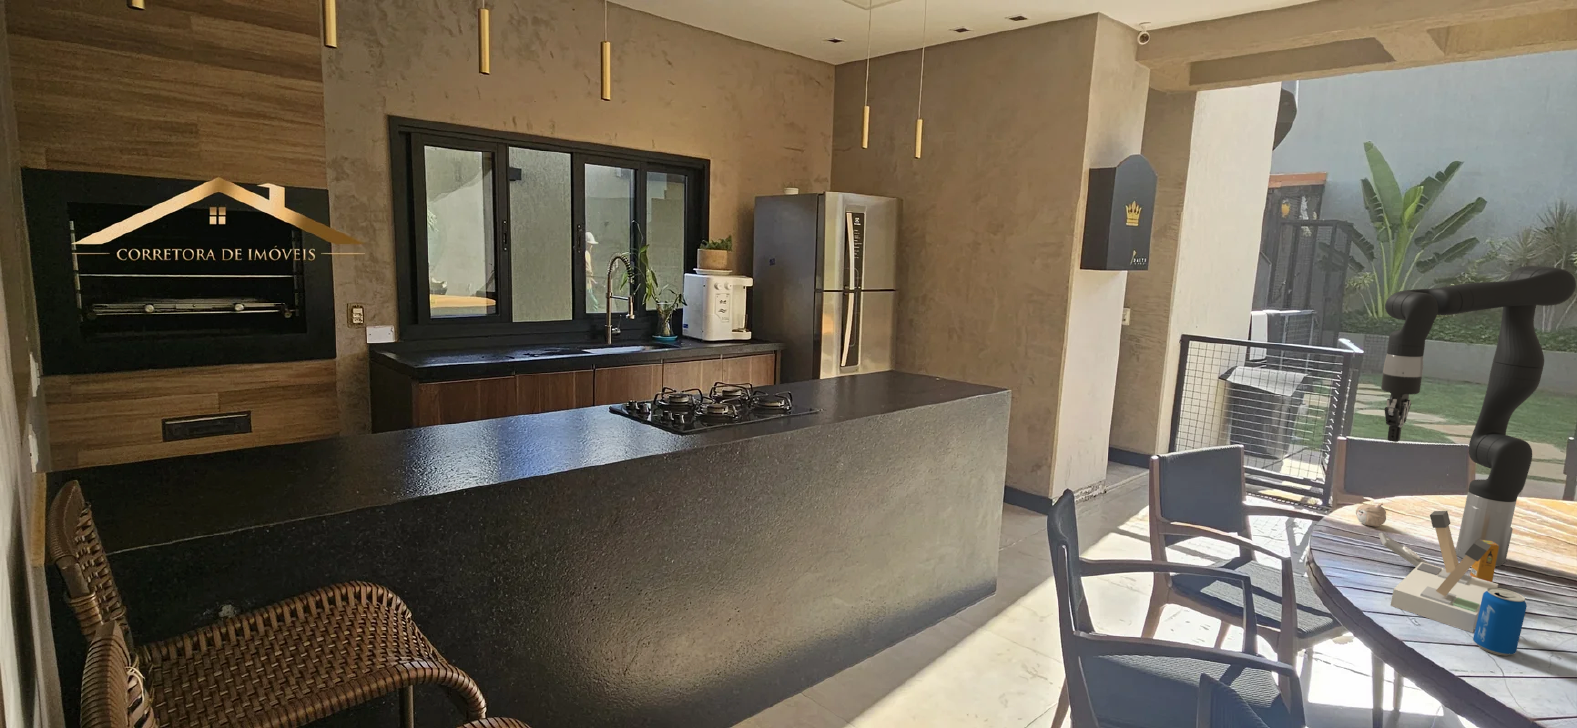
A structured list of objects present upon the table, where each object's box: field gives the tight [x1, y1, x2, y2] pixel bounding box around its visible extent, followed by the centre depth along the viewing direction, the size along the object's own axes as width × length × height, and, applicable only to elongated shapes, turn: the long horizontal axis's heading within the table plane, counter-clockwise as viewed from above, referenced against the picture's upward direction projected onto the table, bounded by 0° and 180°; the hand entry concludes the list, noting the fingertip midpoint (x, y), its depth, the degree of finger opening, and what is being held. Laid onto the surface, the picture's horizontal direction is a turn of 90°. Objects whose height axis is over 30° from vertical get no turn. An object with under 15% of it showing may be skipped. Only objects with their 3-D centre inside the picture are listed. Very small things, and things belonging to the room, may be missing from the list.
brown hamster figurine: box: [1355, 502, 1387, 528], centre depth 219 cm, size 7×6×8 cm
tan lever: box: [1436, 539, 1491, 596], centre depth 164 cm, size 2×4×14 cm, turn 130°
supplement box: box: [1469, 540, 1499, 582], centre depth 185 cm, size 3×3×10 cm
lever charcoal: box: [1429, 510, 1460, 573], centre depth 178 cm, size 2×4×14 cm, turn 128°
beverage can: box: [1472, 587, 1528, 657], centre depth 154 cm, size 6×6×12 cm
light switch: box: [1378, 531, 1431, 568], centre depth 191 cm, size 8×5×13 cm
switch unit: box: [1390, 562, 1499, 633], centre depth 173 cm, size 14×24×4 cm, turn 129°
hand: (1393, 440), depth 192 cm, fingers closed
